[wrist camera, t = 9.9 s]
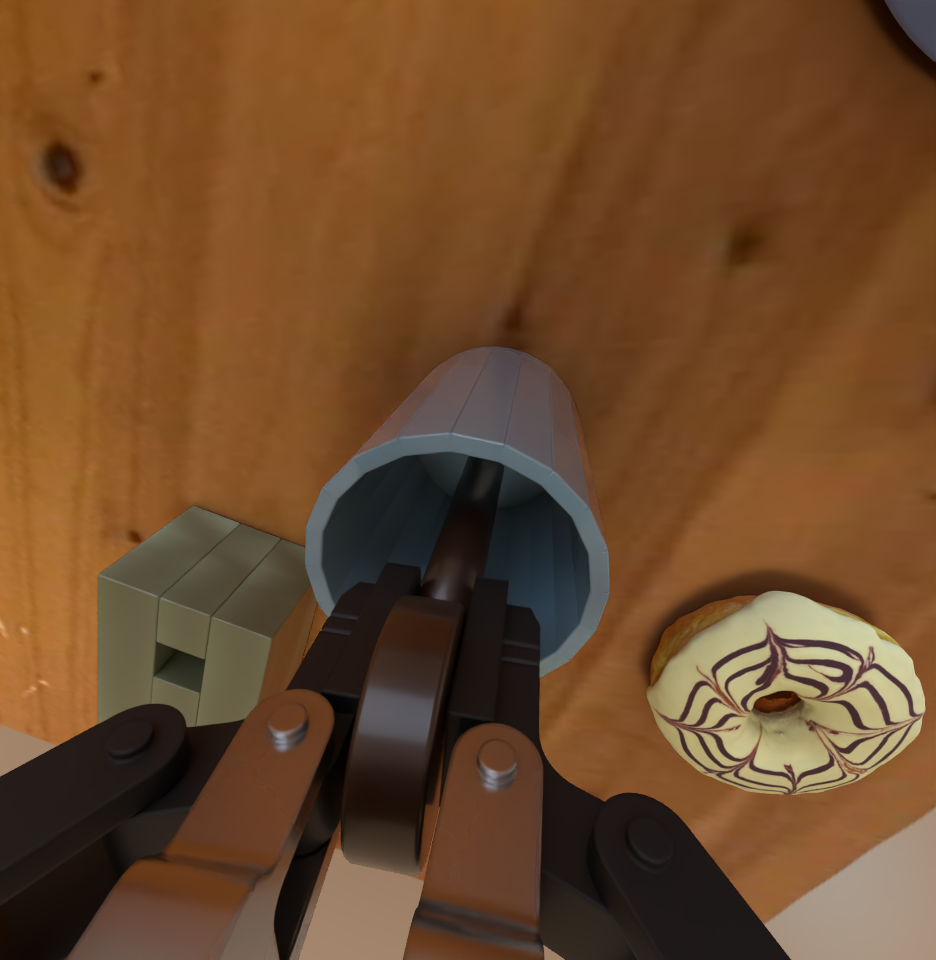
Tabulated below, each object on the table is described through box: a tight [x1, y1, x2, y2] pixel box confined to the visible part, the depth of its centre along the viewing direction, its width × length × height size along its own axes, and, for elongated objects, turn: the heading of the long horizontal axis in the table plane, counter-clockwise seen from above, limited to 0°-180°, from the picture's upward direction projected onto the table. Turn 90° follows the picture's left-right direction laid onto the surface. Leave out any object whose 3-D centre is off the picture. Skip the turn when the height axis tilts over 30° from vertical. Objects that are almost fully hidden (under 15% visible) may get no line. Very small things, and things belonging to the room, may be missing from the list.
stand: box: [98, 506, 317, 727], centre depth 26 cm, size 7×17×6 cm, turn 160°
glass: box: [305, 346, 610, 678], centre depth 16 cm, size 7×7×10 cm
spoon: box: [340, 456, 504, 876], centre depth 13 cm, size 4×1×14 cm, turn 175°
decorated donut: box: [646, 591, 925, 795], centre depth 23 cm, size 10×11×4 cm
